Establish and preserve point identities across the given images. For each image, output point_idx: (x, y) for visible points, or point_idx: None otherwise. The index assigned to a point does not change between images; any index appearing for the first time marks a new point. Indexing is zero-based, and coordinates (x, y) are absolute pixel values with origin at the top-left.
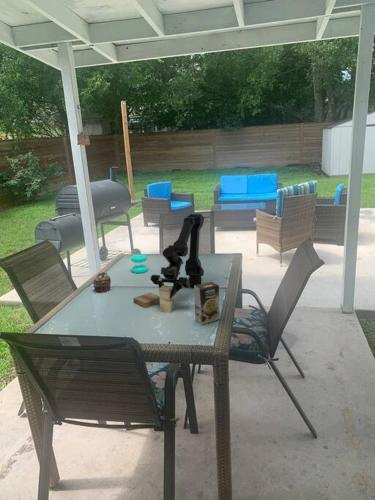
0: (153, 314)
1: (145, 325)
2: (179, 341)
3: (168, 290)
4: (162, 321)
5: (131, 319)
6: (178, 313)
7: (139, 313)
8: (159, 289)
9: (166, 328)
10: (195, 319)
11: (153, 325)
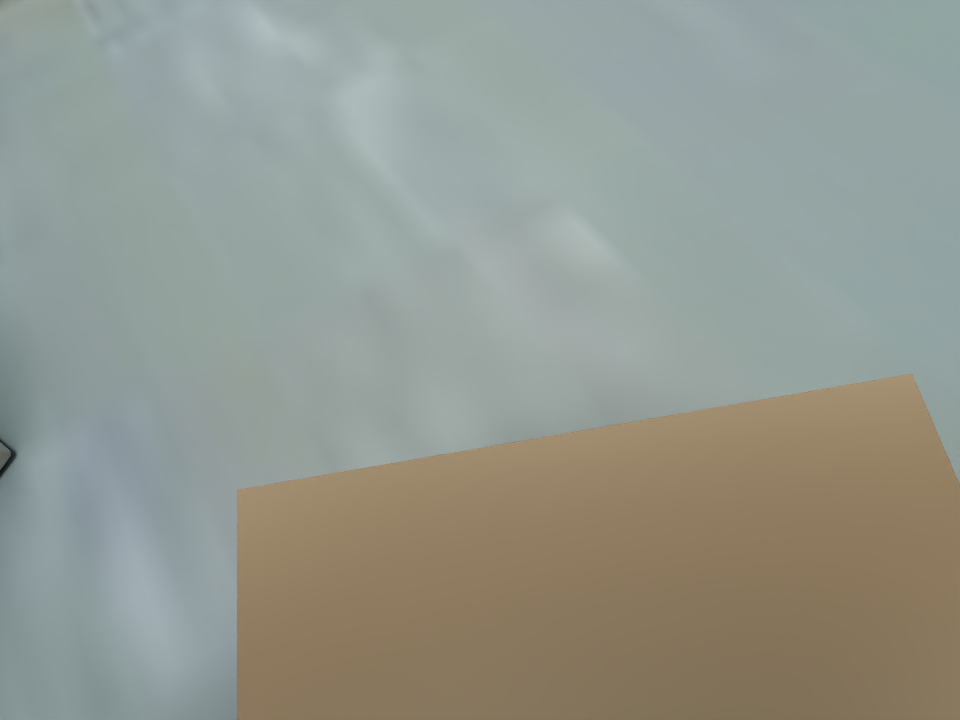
0: (658, 325)
1: (516, 50)
2: (44, 13)
3: (267, 492)
4: (393, 218)
5: (811, 64)
6: None
7: (892, 249)
8: (842, 389)
9: (257, 116)
10: (4, 448)
11: (430, 94)
